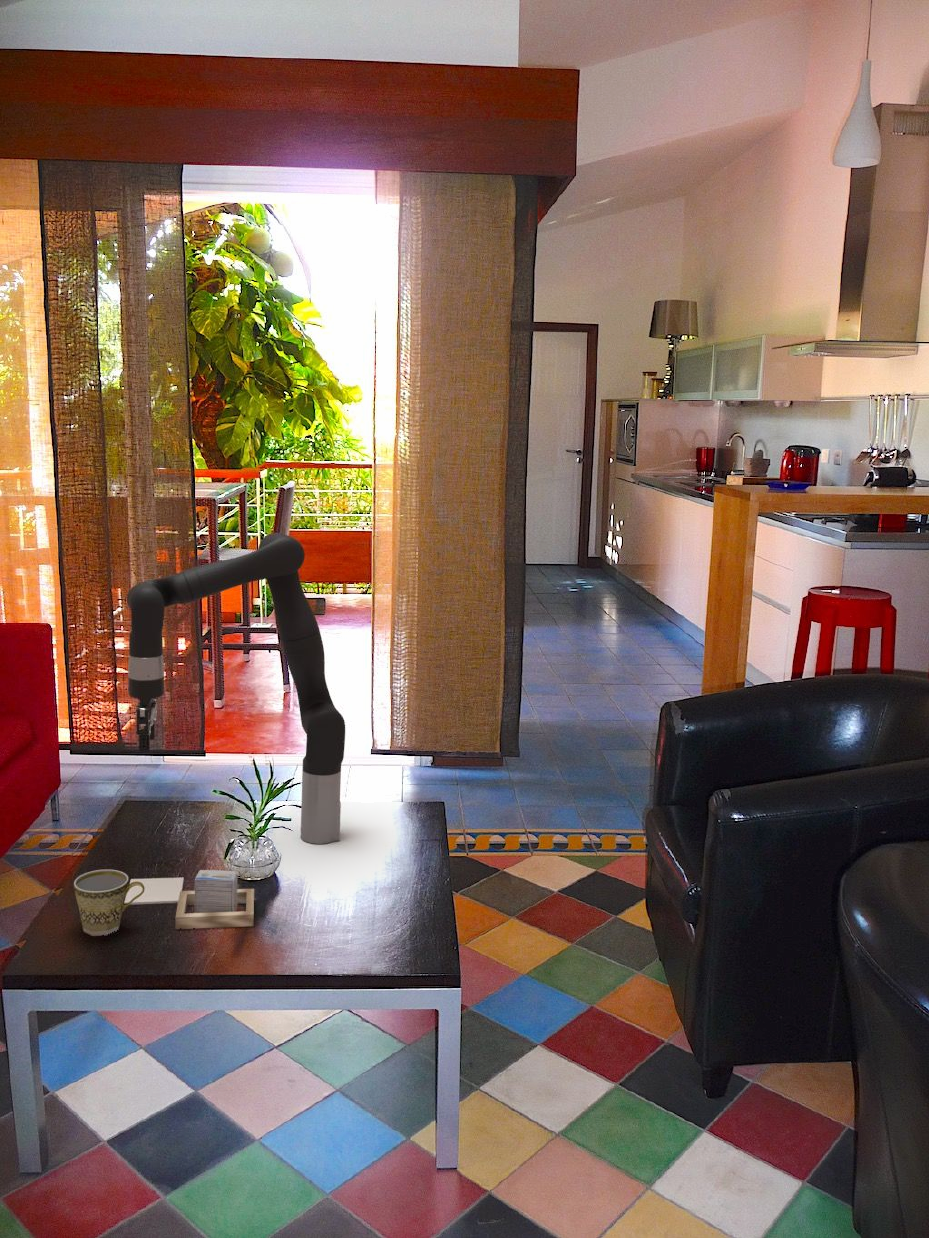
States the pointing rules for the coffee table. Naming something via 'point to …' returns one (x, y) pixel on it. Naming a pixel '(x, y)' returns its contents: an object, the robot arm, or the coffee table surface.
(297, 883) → the coffee table surface
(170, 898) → the pad
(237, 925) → the rectangular wooden frame
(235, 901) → the medicine box
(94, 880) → the ceramic cup
